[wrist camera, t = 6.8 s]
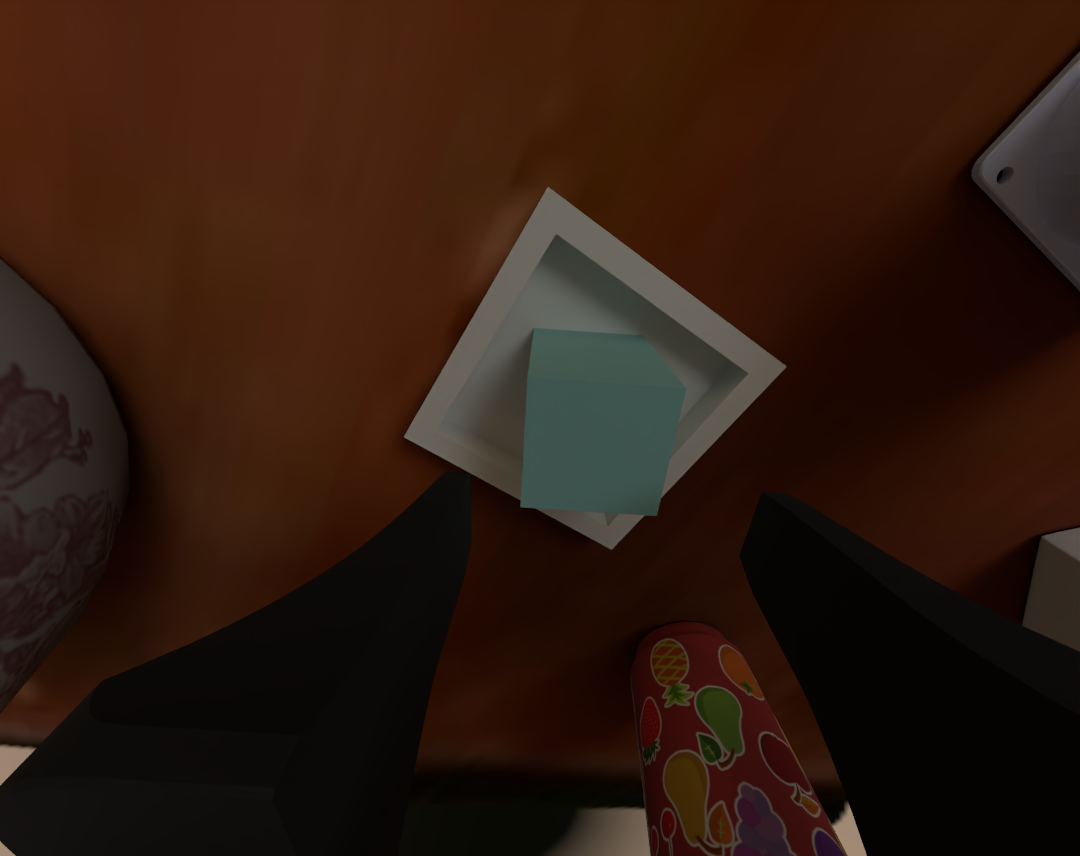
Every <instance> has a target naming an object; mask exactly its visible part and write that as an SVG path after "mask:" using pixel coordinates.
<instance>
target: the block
mask: <svg viewBox="0 0 1080 856" xmlns="http://www.w3.org/2000/svg"><path fill="white" fill-rule="evenodd" d="M685 392H686V387H685V386H684V385H683V383H682V382H681V381H680V380H679V378H678V377H677V376H676V375H675V373H674V372H673V371H672V370H671V369H670V367H669V366H668V365H667V364H666V362H665V361H664V360H663V359H662V357H661V356H660V355H659V354H658V352H657V351H656V350H655V349H654V347H653V346H652V345H651V344H650V343H649V341H648V340H647V339H646V338H645V336H643V335H628V334H614V333H599V332H585V331H571V330H556V329H542V328H534V332H533V340H532V347H531V355H530V362H529V370H528V377H527V395H526V413H525V432H524V450H523V468H522V486H521V504H520V507H523V508H539V509H555V510H570V511H586V512H601V513H617V514H633V515H648V516H657V513H658V509H659V504H660V500H661V496H662V491H663V487H664V483H665V478H666V474H667V470H668V465H669V461H670V457H671V452H672V448H673V444H674V439H675V435H676V431H677V427H678V422H679V418H680V414H681V409H682V405H683V401H684V396H685Z"/></svg>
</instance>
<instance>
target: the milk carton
mask: <svg viewBox="0 0 1080 856" xmlns="http://www.w3.org/2000/svg"><path fill="white" fill-rule="evenodd" d="M1022 626H1024V627H1026V628H1029V629H1031V630H1033V631H1035V632H1037V633H1039V634H1042V635H1044V636H1046V637H1048V638H1051V639H1053V640H1055V641H1057V642H1060V643H1062V644H1064V645H1066V646H1069V647H1071V648H1073V649H1075V650H1077V651H1080V527H1079V528H1075V529H1070V530H1066V531H1061V532H1056V533H1052V534H1048V535H1044V536H1042V537H1041V539H1040V543H1039V548H1038V552H1037V557H1036V561H1035V566H1034V570H1033V575H1032V580H1031V584H1030V589H1029V594H1028V598H1027V603H1026V608H1025V612H1024V617H1023V622H1022Z"/></svg>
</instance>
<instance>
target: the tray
mask: <svg viewBox="0 0 1080 856" xmlns="http://www.w3.org/2000/svg"><path fill="white" fill-rule="evenodd" d="M534 328H542V329H556V330H571V331H585V332H599V333H614V334H628V335H643V336H645V338H646V339H647V340H648V341H649V343H650V344H651V345H652V346H653V347H654V349H655V350H656V351H657V352H658V354H659V355H660V356H661V357H662V359H663V360H664V361H665V362H666V364H667V365H668V366H669V367H670V369H671V370H672V371H673V372H674V373H675V375H676V376H677V377H678V378H679V380H680V381H681V382H682V383H683V385H684V386H685V387H686V392H685V396H684V401H683V405H682V409H681V414H680V418H679V422H678V427H677V431H676V435H675V439H674V444H673V448H672V452H671V457H670V461H669V465H668V470H667V474H666V478H665V483H664V487H663V491H662V496H663V495H664V494H665V493H666V492H667V491H668V490H669V489H670V488H671V487H672V486H673V485H674V484H675V483H676V482H677V481H678V480H679V479H680V478H681V477H682V476H683V475H684V473H685V472H686V471H687V470H688V469H689V468H690V467H691V466H692V465H693V464H694V463H695V462H696V461H697V460H698V459H699V458H700V457H701V456H702V455H703V454H704V453H705V452H706V451H707V449H708V448H709V447H710V446H711V445H712V444H713V443H714V442H715V441H716V440H717V439H718V438H719V437H720V436H721V435H722V434H723V433H724V432H725V431H726V430H727V429H728V428H729V426H730V425H731V424H732V423H733V422H734V421H735V420H736V419H737V418H738V417H739V416H740V415H741V414H742V413H743V412H744V411H745V410H746V409H747V408H748V407H749V406H750V405H751V403H752V402H753V401H754V400H755V399H756V398H757V397H758V396H759V395H760V394H761V393H762V392H763V391H764V390H765V389H766V388H767V387H768V386H769V385H770V384H771V383H772V382H773V380H774V379H775V378H776V377H777V376H778V375H779V374H780V373H781V372H782V371H783V370H784V369H785V368H786V367H787V366H785V365H784V364H783V363H781V362H780V361H779V360H777V359H776V358H775V357H773V356H772V355H771V354H769V353H768V352H767V351H765V350H764V349H763V348H761V347H760V346H759V345H757V344H756V343H755V342H753V341H752V340H751V339H749V338H748V337H747V336H745V335H744V334H743V333H741V332H740V331H739V330H737V329H736V328H735V327H733V326H732V325H731V324H729V323H728V322H727V321H725V320H724V319H723V318H721V317H720V316H719V315H717V314H716V313H715V312H713V311H712V310H711V309H709V308H708V307H707V306H705V305H704V304H703V303H701V302H700V301H699V300H698V299H696V298H695V297H694V296H692V295H691V294H690V293H688V292H687V291H686V290H684V289H683V288H682V287H680V286H679V285H678V284H676V283H675V282H674V281H672V280H671V279H670V278H668V277H667V276H666V275H664V274H663V273H662V272H660V271H659V270H658V269H656V268H655V267H654V266H652V265H651V264H650V263H648V262H647V261H646V260H644V259H643V258H642V257H640V256H639V255H638V254H636V253H635V252H634V251H632V250H631V249H630V248H628V247H627V246H626V245H624V244H623V243H622V242H620V241H619V240H618V239H616V238H615V237H614V236H612V235H611V234H610V233H608V232H607V231H606V230H604V229H603V228H602V227H600V226H599V225H598V224H597V223H595V222H594V221H593V220H591V219H590V218H589V217H587V216H586V215H585V214H583V213H582V212H581V211H579V210H578V209H577V208H575V207H574V206H573V205H571V204H570V203H569V202H567V201H566V200H565V199H563V198H562V197H561V196H559V195H558V194H557V193H555V192H554V191H553V190H551V189H550V188H549V187H548V188H547V190H546V191H545V193H544V195H543V196H542V198H541V200H540V202H539V203H538V205H537V207H536V209H535V210H534V212H533V214H532V216H531V217H530V219H529V221H528V222H527V224H526V226H525V228H524V229H523V231H522V233H521V235H520V236H519V238H518V240H517V242H516V243H515V245H514V247H513V248H512V250H511V252H510V254H509V255H508V257H507V259H506V261H505V262H504V264H503V266H502V268H501V269H500V271H499V273H498V274H497V276H496V278H495V280H494V281H493V283H492V285H491V287H490V288H489V290H488V292H487V294H486V295H485V297H484V299H483V300H482V302H481V304H480V306H479V307H478V309H477V311H476V313H475V314H474V316H473V318H472V319H471V321H470V323H469V325H468V326H467V328H466V330H465V332H464V333H463V335H462V337H461V339H460V340H459V342H458V344H457V345H456V347H455V349H454V351H453V352H452V354H451V356H450V358H449V359H448V361H447V363H446V365H445V366H444V368H443V370H442V371H441V373H440V375H439V377H438V378H437V380H436V382H435V384H434V385H433V387H432V389H431V391H430V392H429V394H428V396H427V397H426V399H425V401H424V403H423V404H422V406H421V408H420V410H419V411H418V413H417V415H416V417H415V418H414V420H413V422H412V423H411V425H410V427H409V429H408V430H407V432H406V434H405V436H404V438H406V439H408V440H410V441H412V442H414V443H415V444H417V445H419V446H421V447H423V448H425V449H427V450H428V451H430V452H432V453H434V454H436V455H438V456H440V457H441V458H443V459H445V460H447V461H449V462H451V463H452V464H454V465H456V466H458V467H460V468H462V469H464V470H465V471H467V472H469V473H471V474H473V475H475V476H476V477H478V478H480V479H482V480H484V481H486V482H488V483H489V484H491V485H493V486H495V487H497V488H499V489H500V490H502V491H504V492H506V493H508V494H510V495H512V496H513V497H515V498H517V499H519V500H521V486H522V468H523V450H524V432H525V413H526V395H527V377H528V370H529V362H530V355H531V347H532V340H533V332H534ZM662 496H661V498H662ZM536 509H537V510H539V511H541V512H543V513H545V514H547V515H548V516H550V517H552V518H554V519H556V520H558V521H560V522H561V523H563V524H565V525H567V526H569V527H571V528H572V529H574V530H576V531H578V532H580V533H582V534H584V535H585V536H587V537H589V538H591V539H593V540H595V541H596V542H598V543H600V544H602V545H604V546H606V547H608V548H609V549H611V550H612V549H613V548H614V547H615V546H616V545H617V544H618V542H619V541H620V540H621V539H622V538H623V537H624V536H625V535H626V534H627V533H628V532H629V531H630V530H631V529H632V528H633V527H634V526H635V525H636V524H637V523H638V522H639V521H640V519H641V518H642V517H643V516H644V515H633V514H617V513H601V512H586V511H570V510H555V509H539V508H536Z"/></svg>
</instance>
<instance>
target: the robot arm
mask: <svg viewBox="0 0 1080 856" xmlns="http://www.w3.org/2000/svg"><path fill="white" fill-rule="evenodd" d="M1000 170H1002V171H1003V174H1002V177H1001V179H1000V180H999V181H998V182H997V180H996V179H997V175H998V173H999V172H1000ZM972 178H973V180H974V182H975V183H976V184H977V185H978V186H979V187H980V188H981V189H982V190H983V191H984V192H985V193H986V194H987V195H988V196H989V197H990V198H991V199H992V200H993V201H994V202H995V203H996V205H997V206H998V207H999V208H1000V209H1001V210H1002V211H1003V212H1004V213H1005V214H1006V215H1007V216H1008V217H1009V218H1010V219H1011V220H1012V221H1013V222H1014V223H1015V224H1016V225H1017V226H1018V227H1019V228H1020V230H1021V231H1022V232H1023V233H1024V234H1025V235H1026V236H1027V237H1028V238H1029V239H1030V240H1031V241H1032V242H1033V243H1034V244H1035V245H1036V246H1037V247H1038V248H1039V249H1040V250H1041V251H1042V252H1043V253H1044V255H1045V256H1046V257H1047V258H1048V259H1049V260H1050V261H1051V262H1052V263H1053V264H1054V265H1055V266H1056V267H1057V268H1058V269H1059V270H1060V271H1061V272H1062V273H1063V274H1064V275H1065V276H1066V277H1067V278H1068V280H1069V281H1070V282H1071V283H1072V284H1073V285H1074V286H1075V287H1076V288H1077V289H1078V290H1079V291H1080V52H1079V53H1078V54H1077V55H1076V56H1075V57H1074V58H1073V59H1072V60H1071V61H1070V62H1069V63H1068V64H1067V66H1066V67H1065V68H1064V69H1063V70H1062V71H1061V72H1060V73H1059V74H1058V75H1057V76H1056V77H1055V78H1054V79H1053V80H1052V81H1051V82H1050V83H1049V84H1048V86H1047V87H1046V88H1045V89H1044V90H1043V91H1042V92H1041V93H1040V94H1039V95H1038V96H1037V97H1036V98H1035V99H1034V100H1033V101H1032V102H1031V103H1030V105H1029V106H1028V107H1027V108H1026V109H1025V110H1024V111H1023V112H1022V113H1021V114H1020V115H1019V116H1018V117H1017V118H1016V119H1015V120H1014V121H1013V122H1012V123H1011V125H1010V126H1009V127H1008V128H1007V129H1006V130H1005V131H1004V132H1003V133H1002V134H1001V135H1000V136H999V137H998V138H997V139H996V140H995V141H994V142H993V143H992V145H991V146H990V147H989V148H988V149H987V150H986V151H985V152H984V153H983V154H982V155H981V156H980V157H979V158H978V160H977V161H976V162H975V164H974V166H973V169H972ZM470 544H471V475H470V474H469V473H453V472H445V473H444V474H443V475H442V476H441V477H440V478H438V479H437V480H436V481H435V482H434V483H433V484H432V485H431V486H430V487H429V488H428V489H427V490H426V491H425V492H424V493H423V494H422V495H421V496H420V497H419V498H418V499H417V500H416V501H415V502H414V503H412V504H411V505H410V506H409V507H408V508H407V509H406V510H405V511H404V512H402V513H401V514H400V515H399V516H398V517H397V518H396V519H395V520H393V521H392V522H391V523H390V524H389V525H388V526H386V527H385V528H384V529H383V530H381V531H380V532H379V533H378V534H376V535H375V536H374V537H373V538H372V539H370V540H369V541H368V542H367V543H365V544H364V545H363V546H361V547H360V548H359V549H357V550H356V551H355V552H353V553H352V554H351V555H349V556H348V557H346V558H345V559H343V560H342V561H340V562H339V563H337V564H336V565H334V566H333V567H331V568H330V569H328V570H327V571H325V572H324V573H322V574H321V575H319V576H318V577H316V578H314V579H313V580H311V581H309V582H307V583H306V584H304V585H302V586H300V587H299V588H297V589H295V590H294V591H292V592H290V593H288V594H287V595H285V596H283V597H282V598H280V599H278V600H276V601H275V602H273V603H271V604H269V605H268V606H266V607H264V608H262V609H260V610H258V611H256V612H254V613H252V614H250V615H248V616H246V617H244V618H243V619H241V620H239V621H237V622H235V623H232V624H230V625H228V626H226V627H224V628H222V629H220V630H218V631H216V632H214V633H212V634H210V635H208V636H206V637H203V638H201V639H199V640H197V641H195V642H193V643H190V644H188V645H186V646H184V647H181V648H179V649H177V650H174V651H172V652H170V653H167V654H165V655H163V656H160V657H158V658H156V659H153V660H151V661H149V662H146V663H144V664H142V665H139V666H137V667H135V668H132V669H130V670H128V671H125V672H123V673H120V674H118V675H115V676H113V677H110V678H108V679H105V680H103V681H102V682H101V683H100V684H99V685H98V686H97V687H96V688H95V689H94V690H93V691H92V692H91V693H90V694H89V695H88V696H87V697H86V698H85V699H84V700H83V701H82V702H81V703H80V704H79V705H78V706H77V707H76V708H75V709H74V710H73V711H72V712H71V713H70V714H69V715H68V716H67V717H66V718H65V719H64V721H63V722H62V723H61V724H60V725H59V726H58V727H57V728H56V729H55V730H54V731H53V732H52V733H51V734H50V735H49V736H48V737H47V738H46V739H45V740H44V741H43V742H42V743H41V744H40V745H39V746H38V747H37V748H36V749H35V750H34V751H33V753H32V754H31V755H30V756H29V757H28V758H27V759H26V760H25V761H24V762H23V763H22V764H21V765H20V766H19V767H18V768H17V769H16V770H15V771H14V772H13V773H12V774H11V775H10V776H9V777H8V778H7V779H6V780H5V781H4V783H3V784H2V785H1V786H0V841H1V842H2V843H3V844H4V845H5V846H6V847H7V848H8V849H9V850H10V851H12V853H14V854H15V855H16V856H398V851H399V846H400V840H401V835H402V830H403V825H404V820H405V814H406V809H407V804H408V799H409V794H410V788H411V783H412V778H413V773H414V768H415V763H416V759H417V754H418V749H419V744H420V739H421V734H422V729H423V724H424V720H425V715H426V710H427V706H428V701H429V696H430V692H431V687H432V682H433V679H434V675H435V671H436V667H437V664H438V660H439V657H440V654H441V651H442V647H443V644H444V641H445V638H446V635H447V631H448V628H449V625H450V622H451V619H452V615H453V612H454V609H455V606H456V602H457V599H458V596H459V593H460V589H461V586H462V583H463V580H464V576H465V571H466V566H467V561H468V555H469V550H470ZM740 558H741V561H742V564H743V567H744V570H745V573H746V576H747V579H748V581H749V584H750V587H751V589H752V592H753V594H754V596H755V598H756V600H757V602H758V604H759V606H760V608H761V610H762V612H763V614H764V616H765V618H766V620H767V622H768V624H769V626H770V628H771V630H772V632H773V633H774V635H775V637H776V639H777V641H778V643H779V645H780V647H781V649H782V651H783V653H784V654H785V656H786V658H787V660H788V662H789V664H790V666H791V668H792V670H793V672H794V673H795V675H796V677H797V679H798V681H799V683H800V685H801V687H802V689H803V691H804V693H805V695H806V698H807V700H808V702H809V704H810V706H811V708H812V711H813V713H814V716H815V718H816V721H817V723H818V725H819V728H820V730H821V733H822V735H823V738H824V740H825V743H826V745H827V747H828V750H829V752H830V755H831V757H832V760H833V763H834V765H835V768H836V771H837V773H838V776H839V779H840V781H841V784H842V787H843V789H844V792H845V794H846V797H847V800H848V802H849V805H850V808H851V810H852V813H853V816H854V819H855V822H856V825H857V828H858V831H859V834H860V837H861V840H862V842H863V845H864V848H865V850H866V854H867V856H1080V651H1077V650H1075V649H1073V648H1071V647H1069V646H1066V645H1064V644H1062V643H1060V642H1057V641H1055V640H1053V639H1051V638H1048V637H1046V636H1044V635H1042V634H1039V633H1037V632H1035V631H1033V630H1031V629H1029V628H1026V627H1024V626H1022V625H1020V624H1018V623H1016V622H1014V621H1012V620H1009V619H1007V618H1005V617H1003V616H1001V615H999V614H997V613H995V612H993V611H991V610H989V609H987V608H985V607H983V606H981V605H980V604H978V603H976V602H974V601H972V600H970V599H968V598H966V597H964V596H962V595H960V594H958V593H956V592H954V591H952V590H950V589H949V588H947V587H945V586H943V585H941V584H939V583H937V582H936V581H934V580H932V579H930V578H929V577H927V576H925V575H923V574H922V573H920V572H918V571H916V570H915V569H913V568H911V567H909V566H908V565H906V564H904V563H902V562H901V561H899V560H897V559H896V558H894V557H892V556H890V555H889V554H887V553H885V552H884V551H882V550H880V549H879V548H877V547H876V546H874V545H872V544H871V543H869V542H867V541H866V540H864V539H863V538H861V537H859V536H858V535H856V534H854V533H853V532H851V531H850V530H848V529H846V528H845V527H843V526H842V525H840V524H838V523H837V522H835V521H834V520H832V519H830V518H829V517H827V516H826V515H824V514H822V513H821V512H819V511H817V510H816V509H814V508H812V507H811V506H809V505H807V504H806V503H804V502H802V501H800V500H798V499H797V498H795V497H793V496H791V495H789V494H787V493H772V492H762V493H761V496H760V499H759V501H758V504H757V507H756V510H755V513H754V516H753V518H752V521H751V524H750V527H749V530H748V533H747V535H746V538H745V541H744V544H743V547H742V550H741V553H740Z"/></svg>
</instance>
